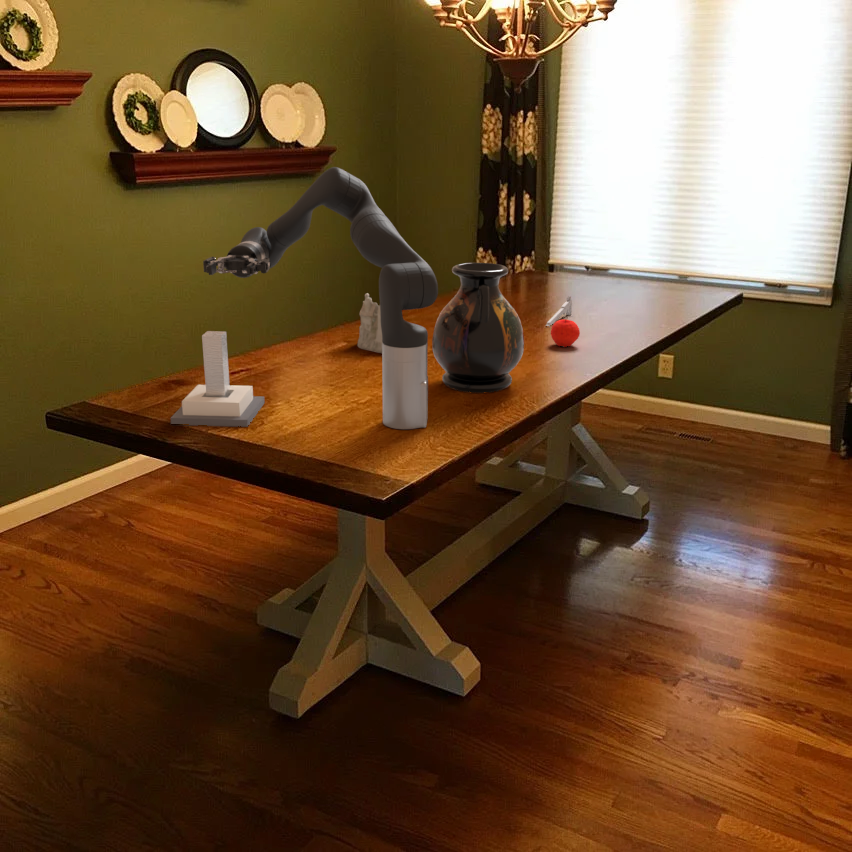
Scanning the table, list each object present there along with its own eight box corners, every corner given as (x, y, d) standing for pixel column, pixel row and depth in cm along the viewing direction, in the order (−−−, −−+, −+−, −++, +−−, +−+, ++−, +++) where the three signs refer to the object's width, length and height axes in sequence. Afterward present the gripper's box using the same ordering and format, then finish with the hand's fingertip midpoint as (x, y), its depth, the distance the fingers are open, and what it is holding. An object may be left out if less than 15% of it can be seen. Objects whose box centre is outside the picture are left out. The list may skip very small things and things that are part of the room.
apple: (584, 347, 256) (586, 320, 254) (563, 351, 252) (564, 324, 250) (565, 341, 263) (566, 315, 260) (543, 344, 258) (545, 318, 256)
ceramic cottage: (384, 355, 246) (385, 298, 242) (346, 345, 257) (346, 291, 254) (428, 349, 256) (429, 294, 252) (389, 340, 268) (390, 288, 264)
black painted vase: (529, 397, 212) (535, 274, 203) (435, 398, 211) (436, 275, 202) (514, 371, 233) (519, 258, 223) (428, 372, 231) (429, 259, 222)
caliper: (568, 314, 296) (569, 295, 294) (571, 315, 295) (572, 295, 293) (545, 327, 279) (546, 307, 277) (548, 328, 278) (549, 307, 276)
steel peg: (230, 404, 201) (226, 331, 196) (226, 409, 197) (221, 336, 192) (212, 403, 201) (207, 331, 196) (207, 409, 198) (201, 335, 192)
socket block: (264, 402, 207) (263, 383, 206) (247, 426, 192) (246, 405, 190) (193, 401, 208) (191, 381, 206) (171, 424, 193) (169, 404, 191)
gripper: (215, 242, 219) (195, 252, 204) (275, 243, 218) (260, 254, 203) (217, 274, 222) (198, 287, 206) (277, 275, 221) (262, 288, 206)
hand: (229, 270), depth 205 cm, fingers open, 8 cm apart
